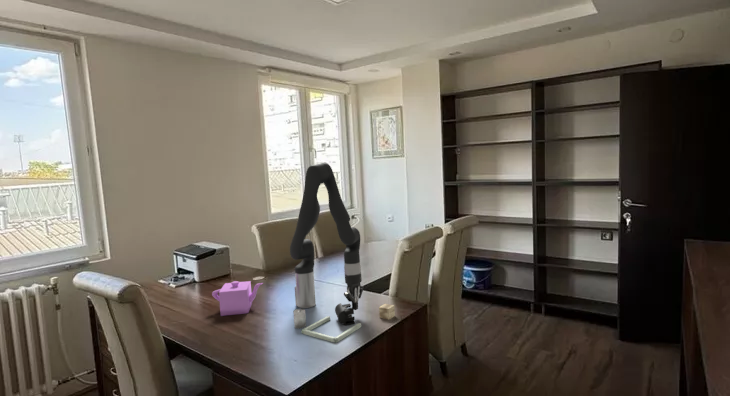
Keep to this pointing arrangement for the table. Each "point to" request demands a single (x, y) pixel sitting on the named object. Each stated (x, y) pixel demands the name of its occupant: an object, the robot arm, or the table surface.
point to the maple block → (386, 311)
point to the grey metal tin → (299, 318)
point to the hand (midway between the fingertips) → (355, 309)
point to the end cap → (345, 314)
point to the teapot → (235, 297)
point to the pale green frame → (326, 337)
